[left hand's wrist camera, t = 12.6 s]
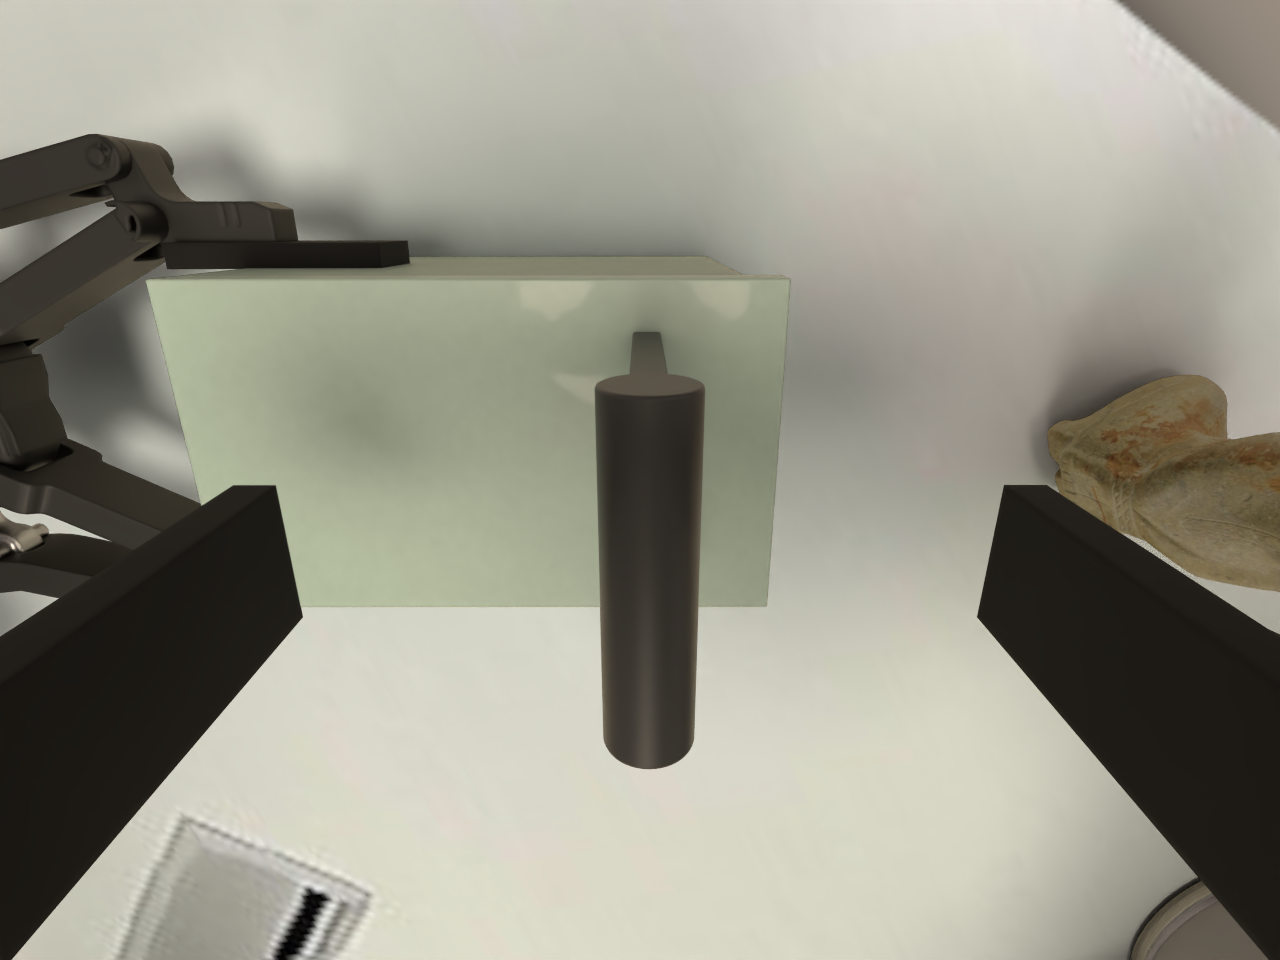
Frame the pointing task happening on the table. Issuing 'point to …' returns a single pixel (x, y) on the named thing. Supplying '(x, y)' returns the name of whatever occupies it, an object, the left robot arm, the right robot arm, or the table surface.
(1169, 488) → the sculpture
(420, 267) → the chest
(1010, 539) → the left robot arm
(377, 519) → the lid
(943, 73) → the table surface
